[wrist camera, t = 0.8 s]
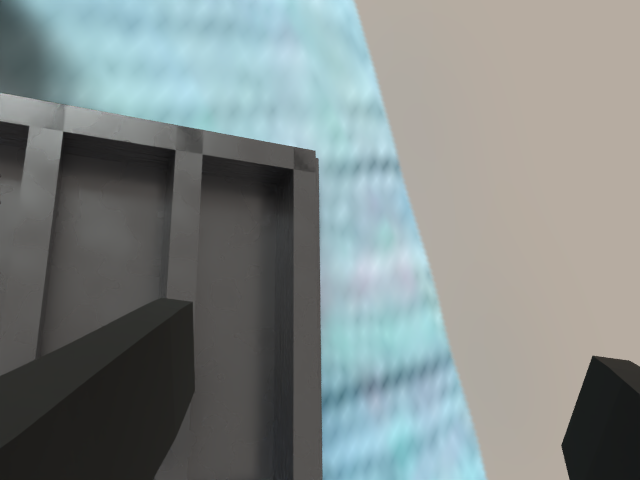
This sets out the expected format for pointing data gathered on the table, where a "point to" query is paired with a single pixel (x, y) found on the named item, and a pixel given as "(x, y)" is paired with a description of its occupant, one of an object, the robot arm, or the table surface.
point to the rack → (172, 269)
